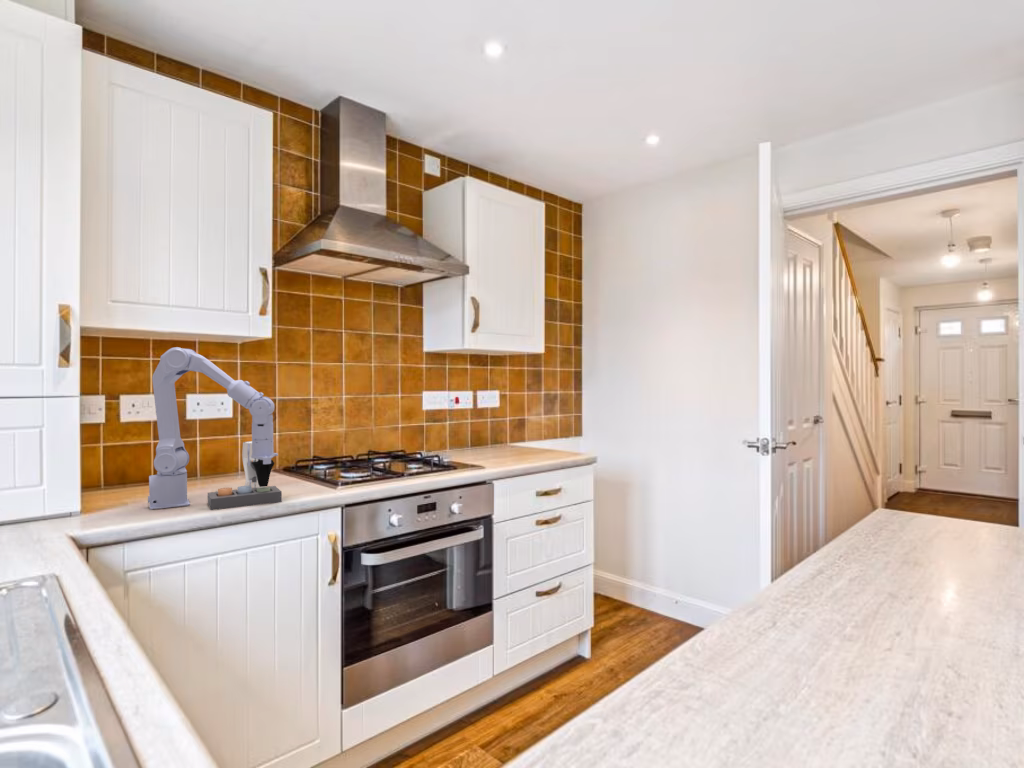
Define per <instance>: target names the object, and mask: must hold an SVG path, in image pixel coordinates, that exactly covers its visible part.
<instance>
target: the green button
mask: <svg viewBox="0 0 1024 768" xmlns="http://www.w3.org/2000/svg"><path fill="white" fill-rule="evenodd" d="M264 491H270V487H269V486H265V487H260V488H257V492H264Z"/></svg>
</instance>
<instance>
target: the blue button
mask: <svg viewBox="0 0 1024 768" xmlns="http://www.w3.org/2000/svg"><path fill="white" fill-rule="evenodd" d="M237 490H238V494H245V493H252V486H245V485H240V486H238V487H237Z"/></svg>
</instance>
